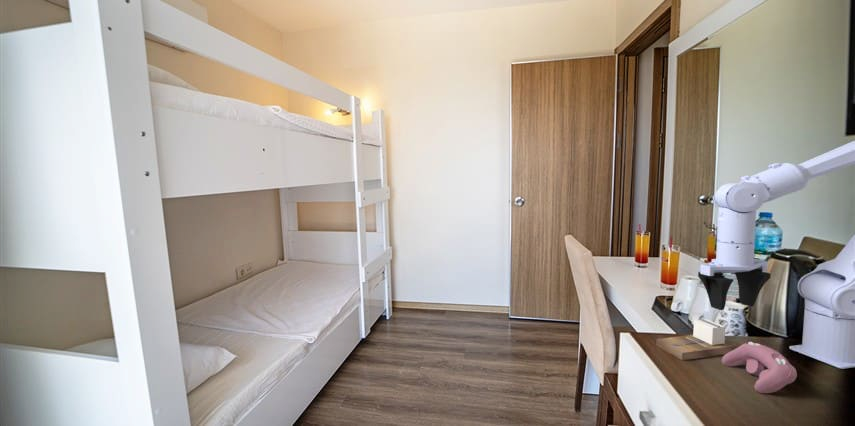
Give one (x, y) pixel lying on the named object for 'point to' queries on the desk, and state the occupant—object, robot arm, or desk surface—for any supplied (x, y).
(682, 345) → the fader board
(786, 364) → the video game controller
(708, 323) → the fader tab
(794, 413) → the desk surface
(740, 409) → the desk surface
